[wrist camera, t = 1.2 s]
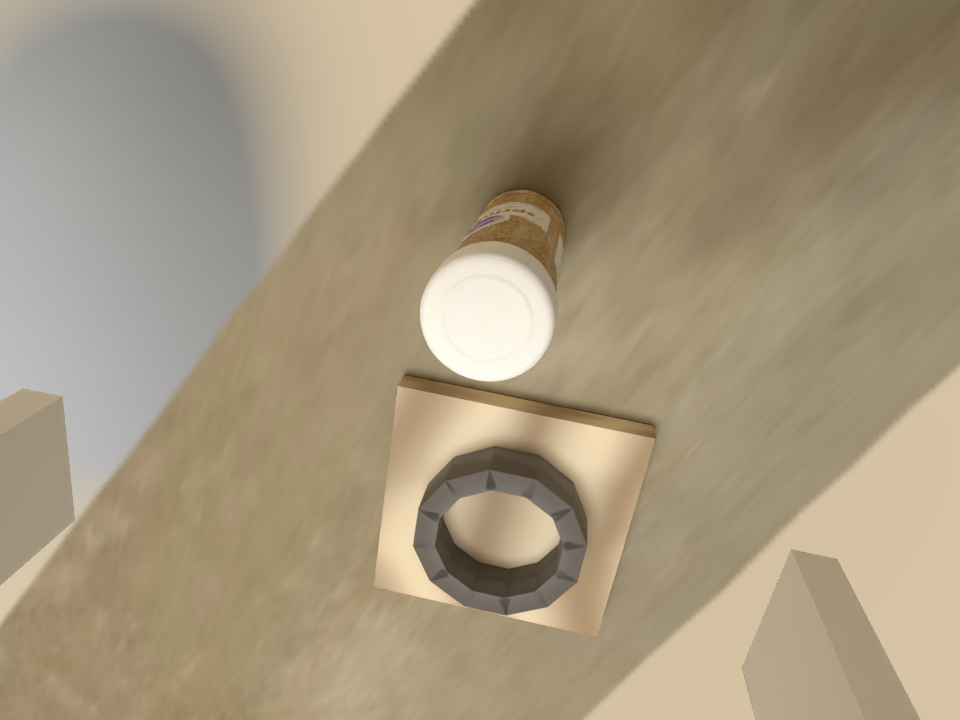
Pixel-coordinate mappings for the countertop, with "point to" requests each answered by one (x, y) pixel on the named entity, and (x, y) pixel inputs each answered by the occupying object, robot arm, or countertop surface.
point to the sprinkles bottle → (498, 290)
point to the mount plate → (508, 503)
